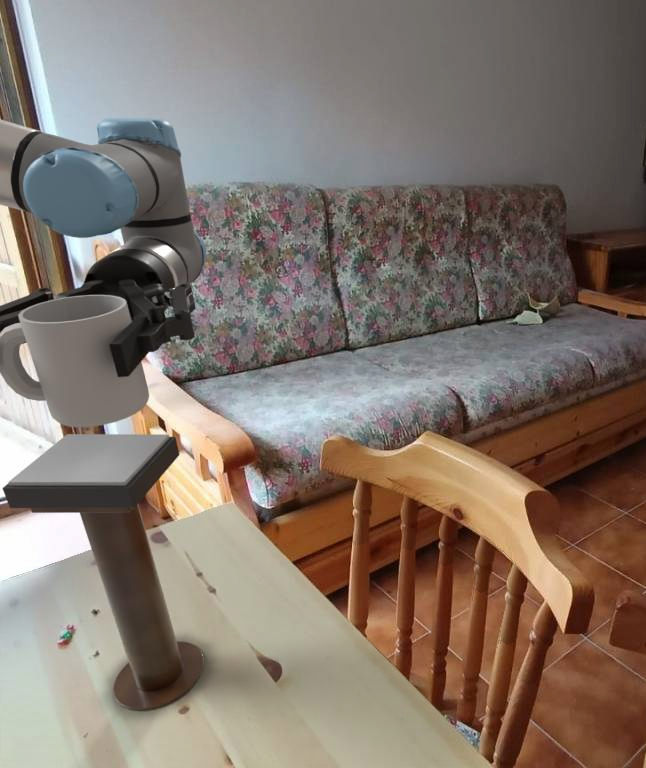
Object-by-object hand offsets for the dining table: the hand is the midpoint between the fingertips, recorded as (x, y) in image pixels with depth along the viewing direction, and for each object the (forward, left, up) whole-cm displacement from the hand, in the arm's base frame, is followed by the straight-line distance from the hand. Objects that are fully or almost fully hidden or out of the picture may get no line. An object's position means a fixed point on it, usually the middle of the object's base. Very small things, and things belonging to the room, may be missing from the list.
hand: (40, 364), depth 47 cm
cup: (-2, +4, -6) cm, 8 cm away
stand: (-2, +3, -38) cm, 38 cm away
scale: (-2, +3, -13) cm, 13 cm away
